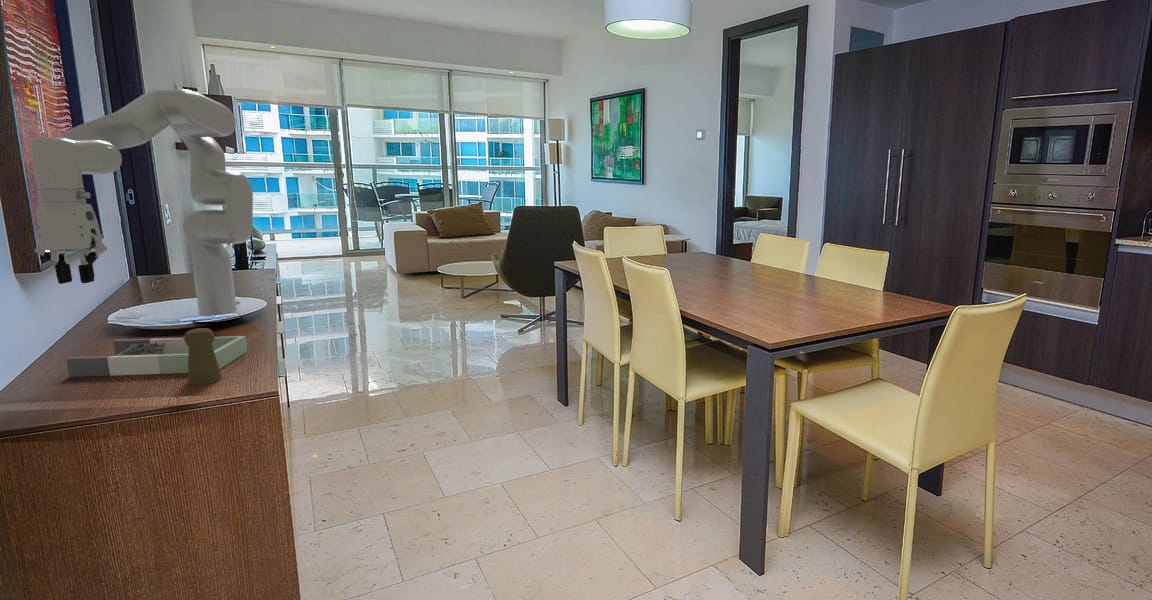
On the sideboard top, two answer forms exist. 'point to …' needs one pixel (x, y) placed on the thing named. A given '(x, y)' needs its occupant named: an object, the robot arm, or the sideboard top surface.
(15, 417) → the sideboard top surface
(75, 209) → the robot arm
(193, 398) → the sideboard top surface
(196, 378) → the cork
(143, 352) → the egg carton
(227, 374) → the sideboard top surface
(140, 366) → the frame
